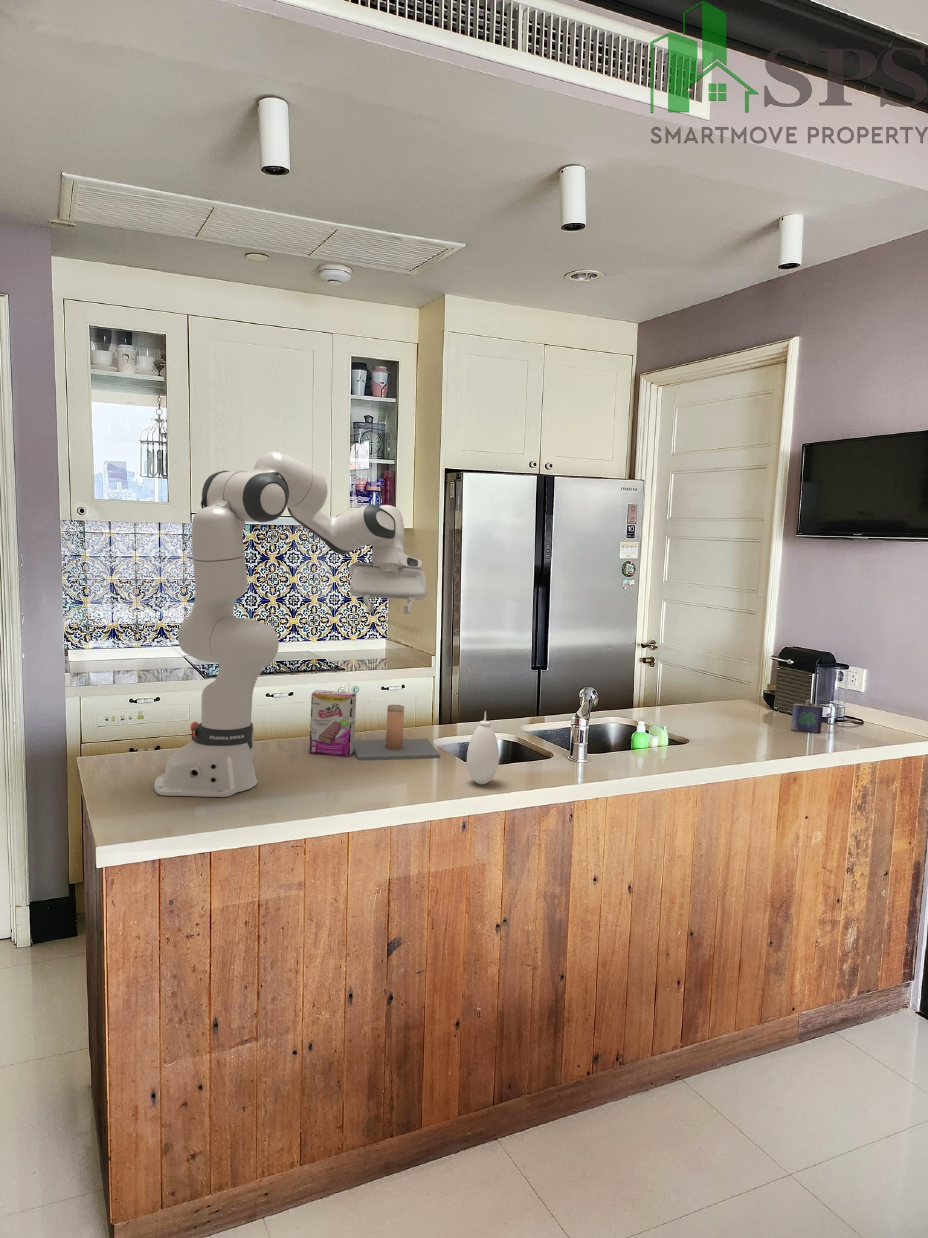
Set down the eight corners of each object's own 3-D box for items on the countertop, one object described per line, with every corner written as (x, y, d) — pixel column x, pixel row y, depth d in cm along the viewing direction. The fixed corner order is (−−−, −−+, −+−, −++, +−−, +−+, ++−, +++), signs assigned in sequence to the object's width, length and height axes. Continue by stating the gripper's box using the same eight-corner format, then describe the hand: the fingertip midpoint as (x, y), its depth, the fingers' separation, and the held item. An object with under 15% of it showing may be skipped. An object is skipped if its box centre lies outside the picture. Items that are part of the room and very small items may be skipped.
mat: (358, 760, 217) (358, 757, 216) (349, 743, 232) (350, 740, 232) (440, 757, 222) (440, 754, 222) (427, 741, 238) (427, 738, 238)
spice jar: (387, 750, 224) (389, 708, 223) (384, 745, 229) (386, 704, 227) (403, 749, 225) (405, 708, 224) (400, 745, 230) (402, 704, 228)
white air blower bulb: (498, 779, 206) (502, 708, 204) (496, 789, 199) (500, 715, 196) (467, 777, 207) (470, 706, 205) (463, 787, 199) (467, 713, 197)
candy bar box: (308, 754, 220) (310, 693, 218) (313, 749, 225) (315, 689, 223) (350, 757, 219) (352, 696, 217) (354, 752, 224) (356, 692, 222)
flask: (791, 731, 274) (794, 699, 272) (789, 729, 276) (793, 697, 275) (821, 734, 271) (824, 702, 270) (819, 732, 274) (823, 700, 273)
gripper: (350, 556, 216) (350, 605, 211) (427, 561, 221) (429, 609, 216) (347, 566, 222) (347, 614, 217) (423, 571, 227) (424, 618, 221)
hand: (388, 612), depth 216 cm, fingers open, 8 cm apart
